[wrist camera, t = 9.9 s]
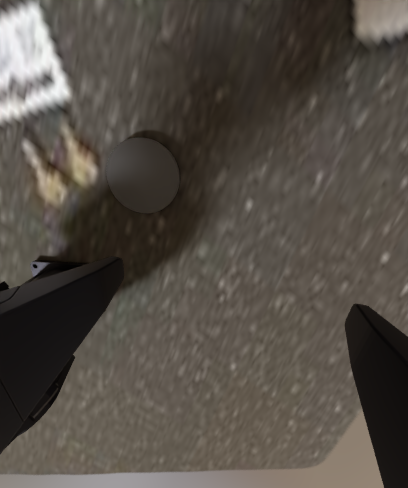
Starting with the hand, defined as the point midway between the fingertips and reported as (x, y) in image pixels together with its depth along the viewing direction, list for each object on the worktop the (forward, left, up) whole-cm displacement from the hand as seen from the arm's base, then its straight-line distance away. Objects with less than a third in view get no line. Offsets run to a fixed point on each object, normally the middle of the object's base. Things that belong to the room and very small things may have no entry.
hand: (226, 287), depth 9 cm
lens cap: (-7, +2, -12) cm, 14 cm away
